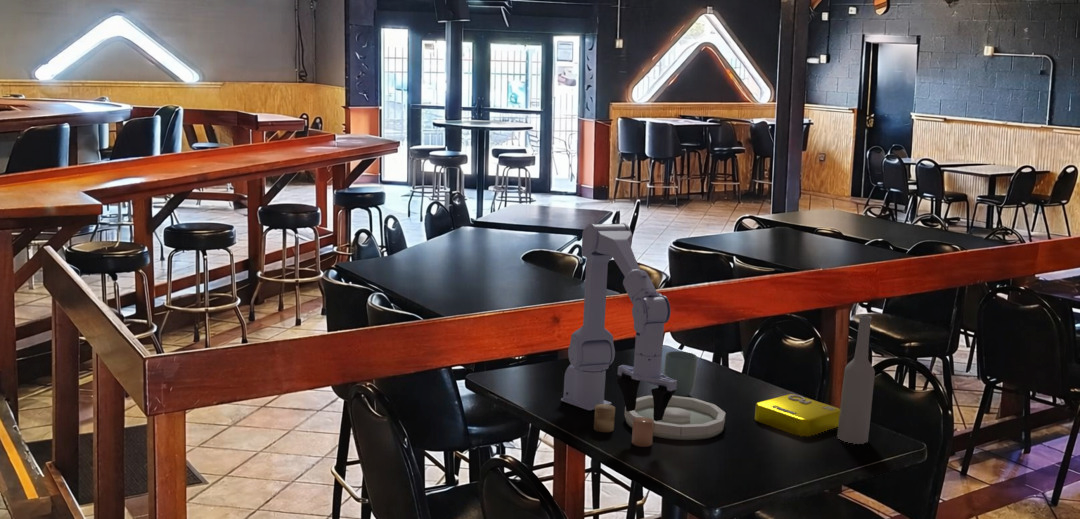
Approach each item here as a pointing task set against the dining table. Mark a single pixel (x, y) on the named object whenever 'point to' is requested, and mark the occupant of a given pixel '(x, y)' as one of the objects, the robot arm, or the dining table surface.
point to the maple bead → (604, 418)
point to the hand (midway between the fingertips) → (644, 415)
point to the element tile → (797, 415)
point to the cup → (681, 371)
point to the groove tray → (681, 418)
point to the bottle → (857, 390)
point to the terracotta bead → (642, 431)
